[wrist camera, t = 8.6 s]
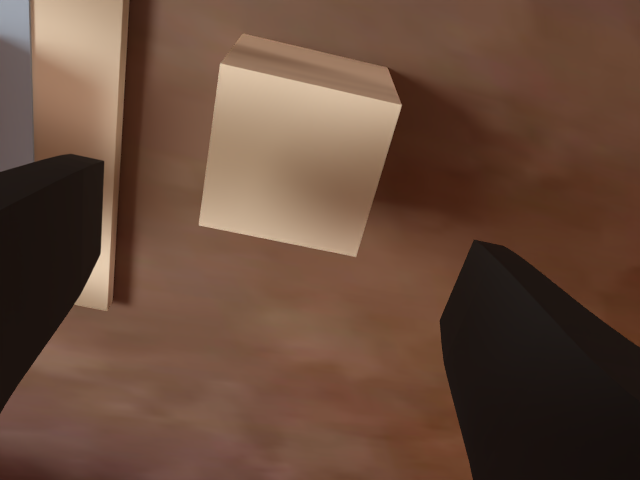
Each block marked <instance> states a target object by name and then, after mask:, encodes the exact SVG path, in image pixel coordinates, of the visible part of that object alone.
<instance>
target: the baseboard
mask: <svg viewBox="0 0 640 480" xmlns="http://www.w3.org/2000/svg"><path fill="white" fill-rule="evenodd" d="M128 18H129V0H0V172H2V171H5V170H8V169H12V168H15V167H19V166H22V165H26V164H29V163H32V162H36V161H39V160H43V159H47V158H51V157H55V156H59V155H65V154H75V155H80V156H84V157H89V158H94V159H98V160H103V161H104V185H103V210H102V235H101V254H100V256H99V258H98V260H97V263H96V265H95V267H94V269H93V271H92V273H91V275H90V277H89V279H88V281H87V283H86V285H85V287H84V289H83V291H82V293H81V295H80V296H79V298H78V299H77V301H76V302H75V304H74V305H79V306H84V307H89V308H95V309H100V310H105V311H107V310H108V309H109V307H110V305H111V303H112V301H113V286H114V268H115V250H116V232H117V214H118V196H119V179H120V161H121V143H122V125H123V107H124V89H125V71H126V54H127V36H128Z"/></svg>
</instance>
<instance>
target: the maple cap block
mask: <svg viewBox="0 0 640 480" xmlns="http://www.w3.org/2000/svg"><path fill="white" fill-rule="evenodd" d="M401 106H402V104H401V101H400V99H399V96H398V94H397V91H396V88H395V86H394V83H393V81H392V78H391V75H390V73H389V70H388V68H387V67H383V66H379V65H375V64H371V63H366V62H362V61H358V60H354V59H349V58H345V57H341V56H337V55H332V54H328V53H324V52H320V51H315V50H311V49H307V48H303V47H298V46H294V45H290V44H286V43H282V42H277V41H273V40H269V39H265V38H260V37H256V36H252V35H248V34H242V35H241V36H240V38H239V39H238V40H237V42H236V43H235V44H234V46H233V47H232V48H231V50H230V51H229V52H228V54H227V55H226V56H225V58H224V59H223V60H222V62H221V63H220V70H219V77H218V85H217V92H216V100H215V107H214V115H213V122H212V130H211V137H210V145H209V152H208V160H207V167H206V175H205V182H204V190H203V197H202V205H201V212H200V220H199V225H200V226H205V227H210V228H215V229H220V230H225V231H230V232H235V233H240V234H245V235H250V236H255V237H260V238H265V239H270V240H275V241H280V242H285V243H290V244H295V245H300V246H305V247H310V248H315V249H319V250H324V251H329V252H334V253H339V254H344V255H349V256H354V257H356V255H357V252H358V248H359V245H360V242H361V239H362V235H363V232H364V229H365V225H366V222H367V219H368V215H369V212H370V209H371V206H372V202H373V199H374V196H375V192H376V189H377V186H378V182H379V179H380V176H381V173H382V169H383V166H384V163H385V159H386V156H387V153H388V149H389V146H390V143H391V140H392V136H393V133H394V130H395V126H396V123H397V120H398V116H399V113H400V110H401Z"/></svg>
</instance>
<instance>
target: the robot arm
mask: <svg viewBox="0 0 640 480" xmlns="http://www.w3.org/2000/svg"><path fill="white" fill-rule="evenodd" d="M103 185H104V161H103V160H98V159H94V158H89V157H84V156H80V155H75V154H65V155H59V156H55V157H51V158H47V159H43V160H39V161H36V162H32V163H29V164H26V165H22V166H19V167H15V168H12V169H8V170H5V171H2V172H0V413H1V411H2V410H3V408H4V406H5V404H6V403H7V401H8V400H9V398H10V396H11V395H12V393H13V392H14V390H15V389H16V387H17V385H18V384H19V382H20V381H21V380H22V378H23V377H24V375H25V374H26V373H27V371H28V370H29V368H30V367H31V365H32V364H33V363H34V361H35V360H36V358H37V357H38V355H39V354H40V353H41V351H42V350H43V348H44V347H45V345H46V344H47V343H48V341H49V340H50V338H51V337H52V336H53V334H54V333H55V331H56V330H57V328H58V327H59V326H60V324H61V323H62V321H63V320H64V318H65V317H66V315H67V314H68V312H69V311H70V310H71V308H72V307H73V305H74V304H75V302H76V301H77V299H78V298H79V296H80V295H81V293H82V291H83V289H84V287H85V285H86V283H87V281H88V279H89V277H90V275H91V273H92V271H93V269H94V267H95V265H96V263H97V260H98V258H99V256H100V254H101V235H102V210H103ZM440 330H441V342H442V351H443V360H444V366H445V370H446V374H447V378H448V382H449V386H450V390H451V394H452V398H453V402H454V406H455V409H456V413H457V417H458V421H459V425H460V428H461V432H462V436H463V440H464V444H465V447H466V451H467V455H468V459H469V463H470V468H471V472H472V477H473V480H640V347H638V346H637V345H635V344H634V343H632V342H631V341H629V340H628V339H627V338H625V337H624V336H622V335H621V334H620V333H618V332H617V331H616V330H614V329H613V328H611V327H610V326H609V325H607V324H606V323H605V322H603V321H602V320H600V319H599V318H598V317H596V316H595V315H594V314H593V313H591V312H590V311H589V310H587V309H586V308H585V307H583V306H582V305H581V304H580V303H578V302H577V301H576V300H575V299H573V298H572V297H571V296H570V295H568V294H567V293H566V292H565V291H563V290H562V289H561V288H560V287H558V286H557V285H556V284H555V283H553V282H552V281H551V280H550V279H548V278H547V277H546V276H545V275H543V274H542V273H541V272H540V271H538V270H537V269H536V268H535V267H533V266H532V265H531V264H529V263H528V262H527V261H525V260H524V259H523V258H521V257H520V256H519V255H517V254H516V253H514V252H513V251H511V250H510V249H508V248H506V247H504V246H501V245H497V244H492V243H487V242H483V241H478V240H474V241H473V243H472V246H471V248H470V250H469V253H468V255H467V257H466V260H465V262H464V265H463V267H462V269H461V272H460V274H459V276H458V279H457V281H456V283H455V286H454V288H453V290H452V293H451V295H450V297H449V300H448V302H447V304H446V307H445V309H444V312H443V314H442V316H441V319H440Z"/></svg>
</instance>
